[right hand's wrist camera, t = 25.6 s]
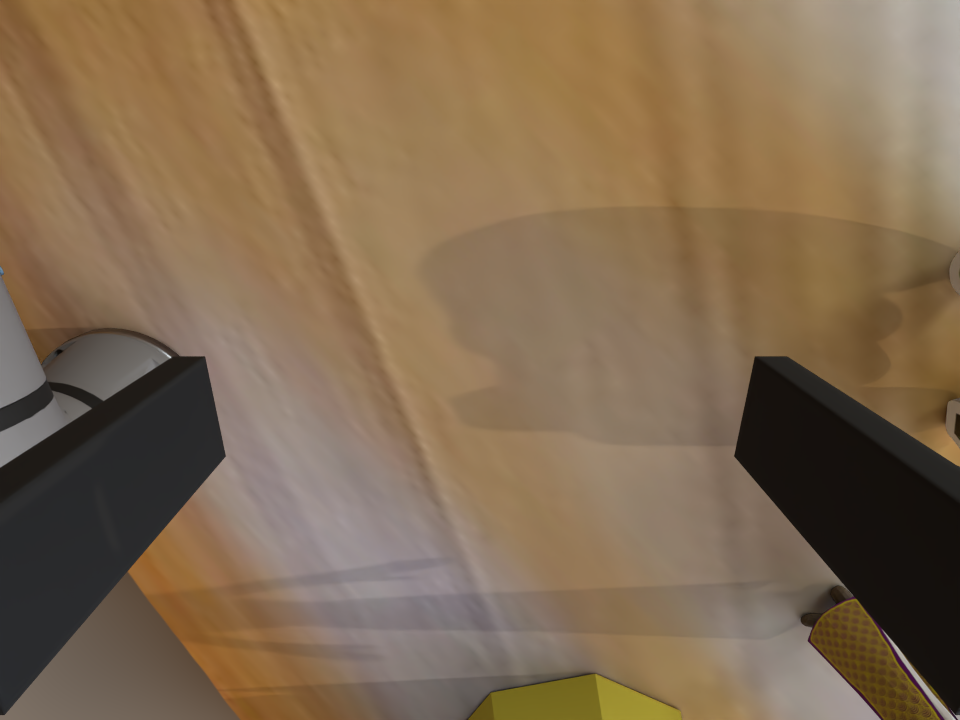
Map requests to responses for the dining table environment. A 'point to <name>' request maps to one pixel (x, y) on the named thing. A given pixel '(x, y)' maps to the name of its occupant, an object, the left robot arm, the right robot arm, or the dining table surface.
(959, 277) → the cutout
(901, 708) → the figurine
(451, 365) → the dining table surface
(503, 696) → the crown
